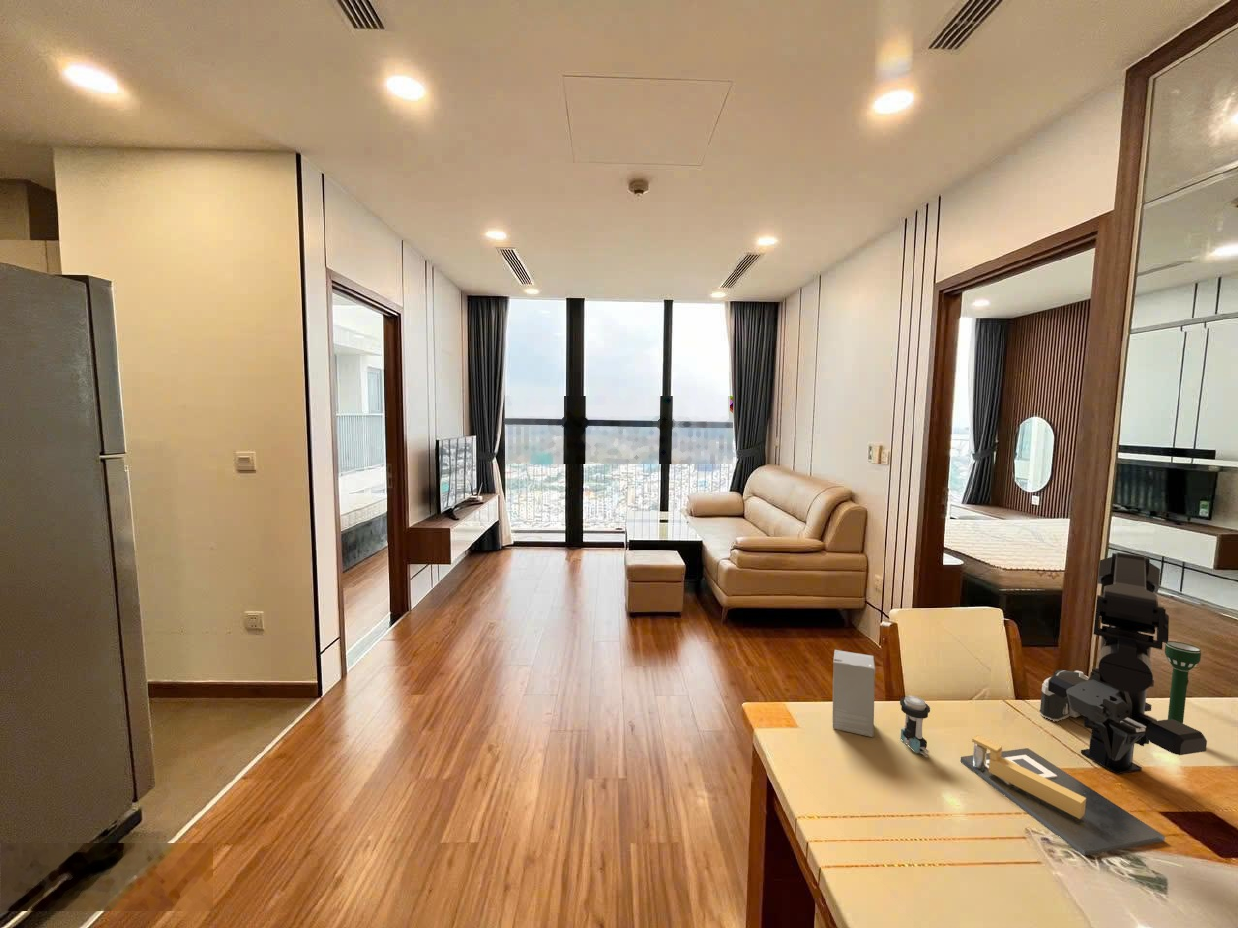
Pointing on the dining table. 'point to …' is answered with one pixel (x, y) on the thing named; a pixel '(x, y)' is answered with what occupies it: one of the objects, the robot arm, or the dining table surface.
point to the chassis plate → (1087, 835)
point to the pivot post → (979, 757)
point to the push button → (914, 723)
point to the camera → (1057, 700)
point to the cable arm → (1032, 781)
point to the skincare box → (853, 692)
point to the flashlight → (1180, 675)
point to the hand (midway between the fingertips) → (1114, 758)
